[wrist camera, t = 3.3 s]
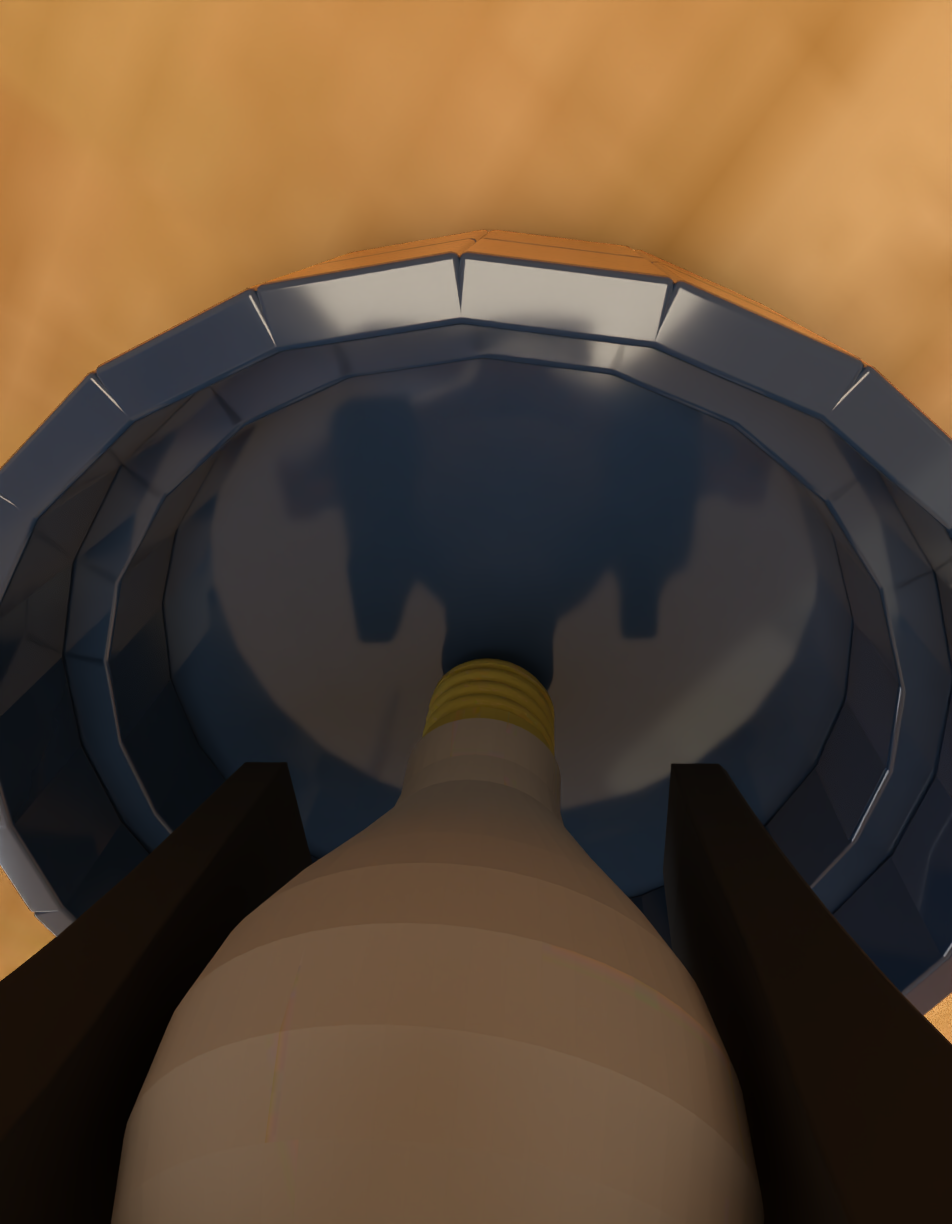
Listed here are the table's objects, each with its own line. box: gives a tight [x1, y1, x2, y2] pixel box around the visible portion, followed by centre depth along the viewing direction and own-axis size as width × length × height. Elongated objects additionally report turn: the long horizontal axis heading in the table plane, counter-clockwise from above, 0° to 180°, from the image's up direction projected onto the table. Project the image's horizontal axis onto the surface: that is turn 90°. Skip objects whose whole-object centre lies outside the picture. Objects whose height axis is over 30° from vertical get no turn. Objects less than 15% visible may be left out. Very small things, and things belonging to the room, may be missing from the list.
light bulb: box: [111, 658, 764, 1224], centre depth 9 cm, size 6×5×10 cm
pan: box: [0, 229, 952, 1016], centre depth 12 cm, size 14×14×4 cm
